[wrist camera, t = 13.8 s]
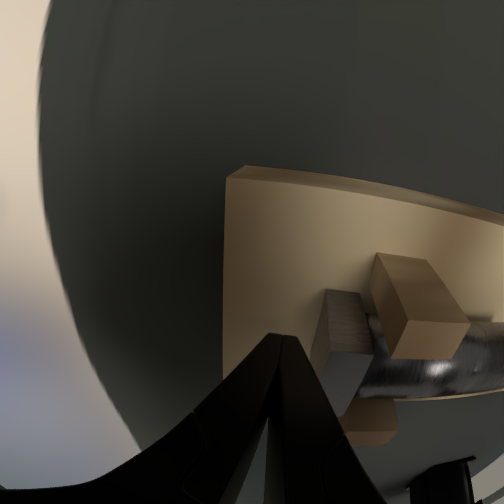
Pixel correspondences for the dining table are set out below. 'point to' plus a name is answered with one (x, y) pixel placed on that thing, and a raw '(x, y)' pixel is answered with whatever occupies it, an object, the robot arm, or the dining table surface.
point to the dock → (356, 270)
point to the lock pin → (396, 370)
